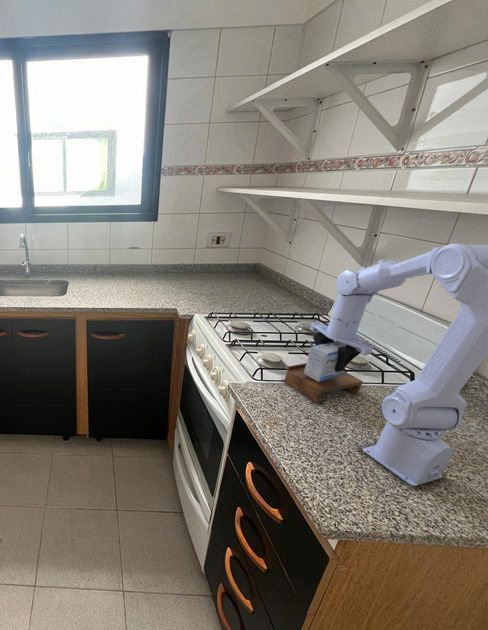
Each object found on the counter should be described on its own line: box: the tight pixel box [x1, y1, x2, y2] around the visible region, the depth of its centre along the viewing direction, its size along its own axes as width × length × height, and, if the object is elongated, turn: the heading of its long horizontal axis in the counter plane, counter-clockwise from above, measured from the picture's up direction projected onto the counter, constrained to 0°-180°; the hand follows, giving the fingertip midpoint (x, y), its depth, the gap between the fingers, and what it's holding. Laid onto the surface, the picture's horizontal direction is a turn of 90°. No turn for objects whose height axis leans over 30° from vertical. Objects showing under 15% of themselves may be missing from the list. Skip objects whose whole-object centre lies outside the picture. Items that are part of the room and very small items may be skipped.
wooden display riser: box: [283, 362, 364, 404], centre depth 93 cm, size 10×14×5 cm
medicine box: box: [304, 341, 346, 382], centre depth 89 cm, size 8×4×9 cm, turn 108°
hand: (329, 365), depth 90 cm, fingers closed on medicine box, 4 cm apart
